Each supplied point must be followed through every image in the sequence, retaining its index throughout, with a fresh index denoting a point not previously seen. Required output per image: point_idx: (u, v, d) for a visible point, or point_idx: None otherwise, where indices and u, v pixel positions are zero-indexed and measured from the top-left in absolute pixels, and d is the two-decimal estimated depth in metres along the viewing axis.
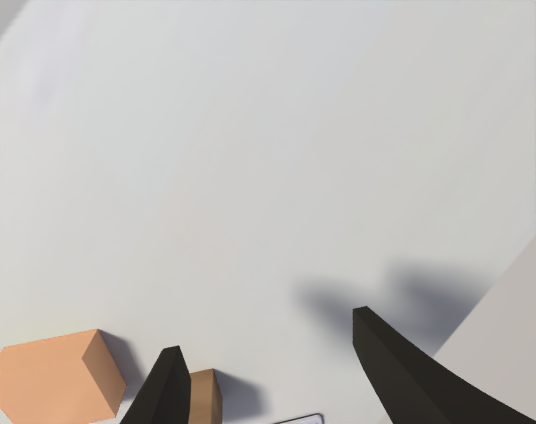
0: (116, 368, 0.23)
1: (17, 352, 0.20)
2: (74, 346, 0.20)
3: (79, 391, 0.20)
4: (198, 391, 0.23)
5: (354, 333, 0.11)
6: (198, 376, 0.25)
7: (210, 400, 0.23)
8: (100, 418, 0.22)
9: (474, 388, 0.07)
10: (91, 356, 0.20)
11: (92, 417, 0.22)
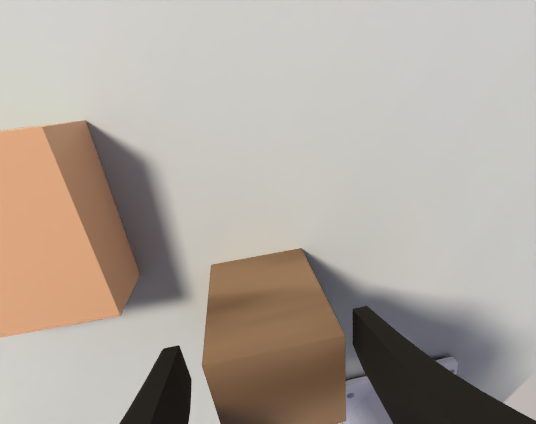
0: (122, 229, 0.12)
1: None
2: (30, 127, 0.09)
3: (39, 235, 0.09)
4: (284, 275, 0.12)
5: (354, 333, 0.11)
6: (277, 258, 0.13)
7: (317, 285, 0.11)
8: (87, 315, 0.10)
9: (474, 388, 0.07)
10: (69, 152, 0.09)
11: (70, 310, 0.10)
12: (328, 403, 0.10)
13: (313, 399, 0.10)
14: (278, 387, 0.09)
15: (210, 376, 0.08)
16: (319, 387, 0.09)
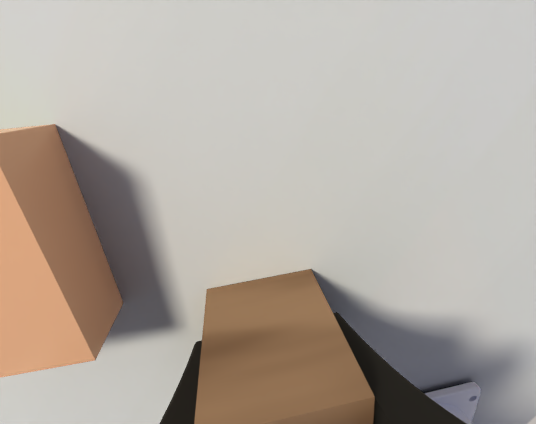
0: (101, 252, 0.10)
1: None
2: None
3: None
4: (294, 306, 0.10)
5: None
6: (283, 282, 0.11)
7: (333, 320, 0.09)
8: (55, 360, 0.08)
9: (428, 399, 0.07)
10: (28, 166, 0.07)
11: (33, 355, 0.08)
12: None
13: None
14: None
15: None
16: None
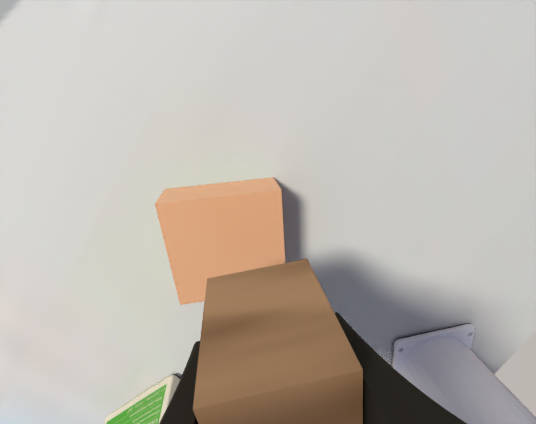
0: None
1: (187, 190, 0.17)
2: (259, 185, 0.17)
3: (261, 242, 0.17)
4: (289, 292, 0.10)
5: None
6: (280, 271, 0.12)
7: (327, 304, 0.10)
8: None
9: (428, 399, 0.07)
10: None
11: None
12: None
13: None
14: None
15: (203, 420, 0.07)
16: None
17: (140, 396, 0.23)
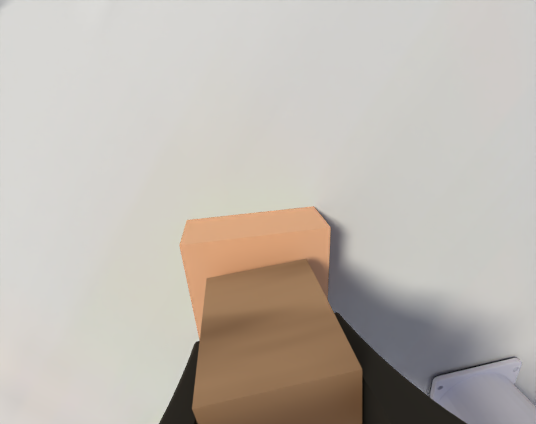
0: None
1: (215, 223, 0.14)
2: (301, 218, 0.14)
3: None
4: (289, 292, 0.10)
5: None
6: (280, 271, 0.12)
7: (326, 304, 0.10)
8: None
9: (428, 399, 0.07)
10: None
11: None
12: None
13: None
14: None
15: (202, 420, 0.07)
16: None
17: None
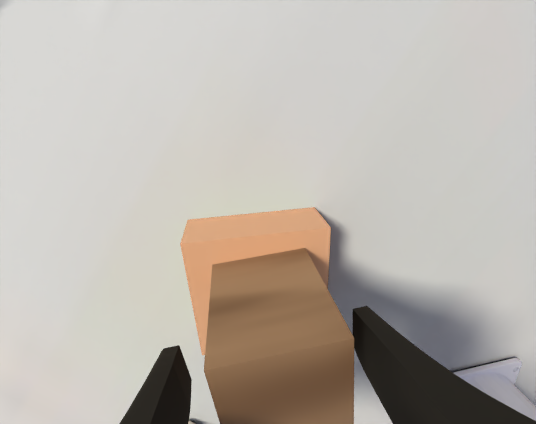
0: None
1: (215, 223, 0.14)
2: (301, 219, 0.14)
3: None
4: (289, 276, 0.11)
5: (354, 333, 0.11)
6: (280, 258, 0.13)
7: (323, 286, 0.10)
8: None
9: (474, 388, 0.07)
10: None
11: None
12: (335, 410, 0.09)
13: (319, 406, 0.09)
14: (283, 393, 0.09)
15: (212, 381, 0.08)
16: (326, 393, 0.09)
17: None
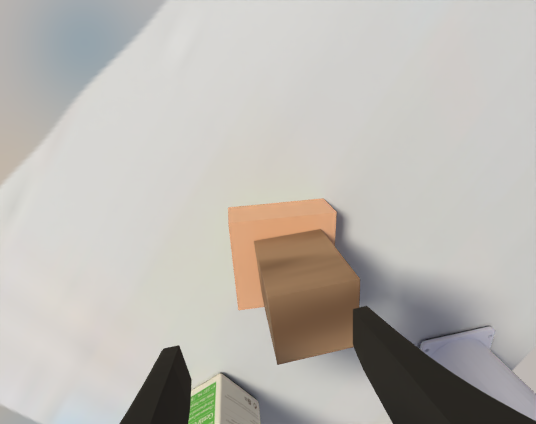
0: None
1: (250, 209, 0.19)
2: (314, 206, 0.19)
3: None
4: (312, 247, 0.16)
5: (354, 333, 0.11)
6: (304, 236, 0.17)
7: (337, 252, 0.15)
8: None
9: (474, 388, 0.07)
10: None
11: None
12: (346, 331, 0.14)
13: (336, 327, 0.14)
14: (314, 316, 0.13)
15: (272, 306, 0.13)
16: (341, 318, 0.14)
17: None
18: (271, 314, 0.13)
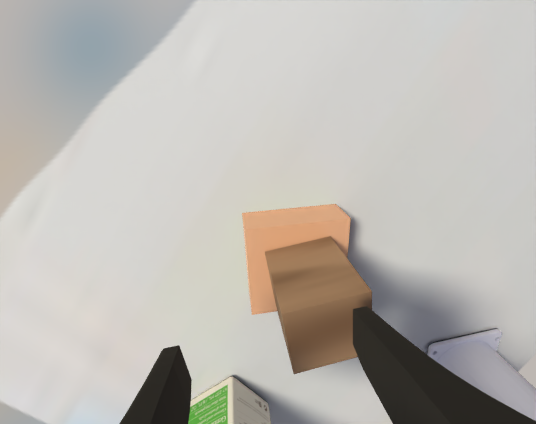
0: None
1: (264, 215, 0.19)
2: (328, 212, 0.19)
3: None
4: (322, 256, 0.16)
5: (354, 333, 0.11)
6: (314, 244, 0.18)
7: (347, 261, 0.15)
8: None
9: (474, 388, 0.07)
10: None
11: None
12: None
13: (350, 337, 0.14)
14: (328, 328, 0.14)
15: (286, 321, 0.13)
16: None
17: (201, 396, 0.26)
18: (285, 329, 0.13)
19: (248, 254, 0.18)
